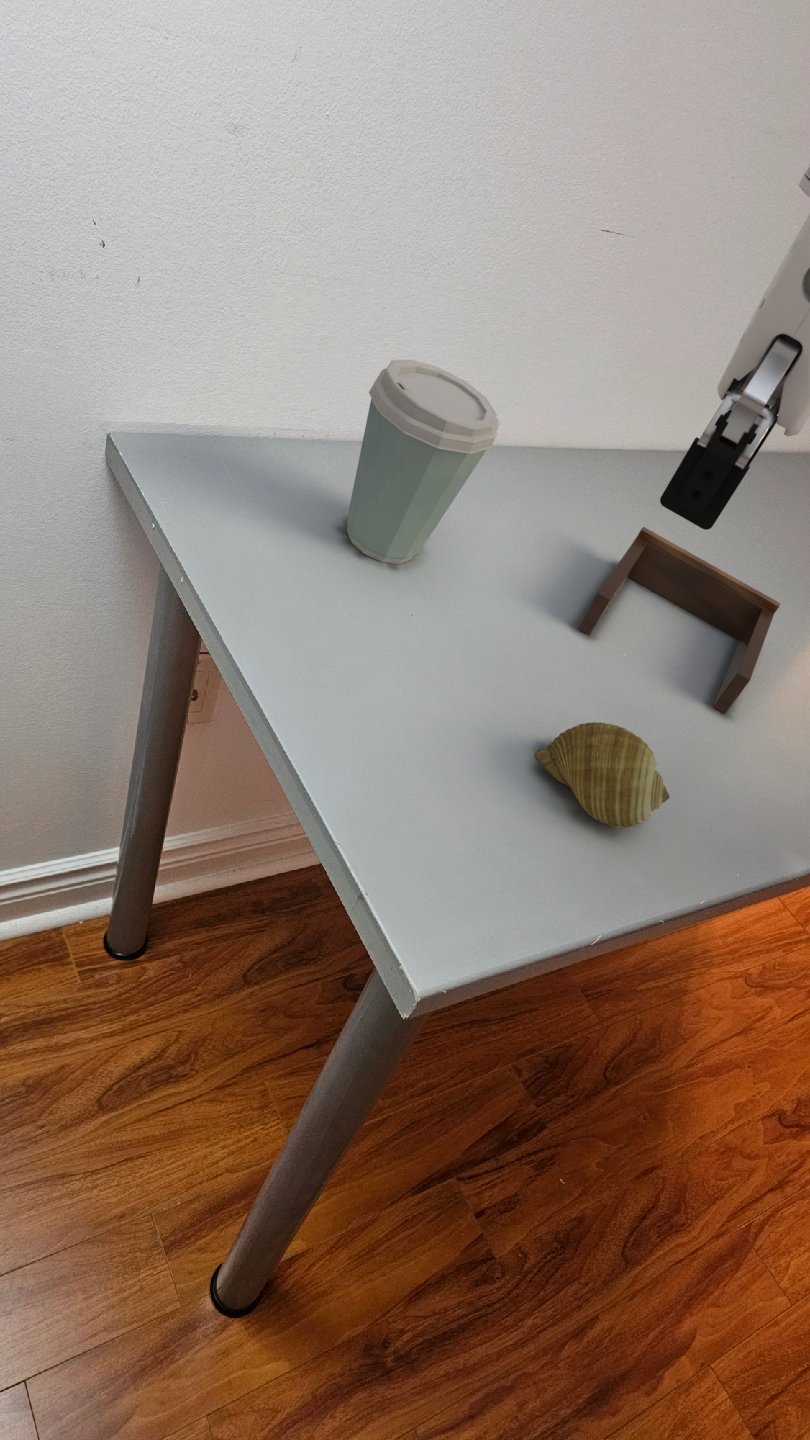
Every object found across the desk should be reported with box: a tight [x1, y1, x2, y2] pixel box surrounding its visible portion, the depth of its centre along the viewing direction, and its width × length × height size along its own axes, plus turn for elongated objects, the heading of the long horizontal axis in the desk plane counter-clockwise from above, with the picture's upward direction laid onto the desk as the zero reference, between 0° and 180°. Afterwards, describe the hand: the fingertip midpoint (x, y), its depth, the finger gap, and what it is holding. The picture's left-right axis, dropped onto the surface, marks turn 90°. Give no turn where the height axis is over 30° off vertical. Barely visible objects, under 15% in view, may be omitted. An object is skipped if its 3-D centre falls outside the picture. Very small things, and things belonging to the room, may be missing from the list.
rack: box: [577, 526, 781, 714], centre depth 94 cm, size 14×14×5 cm
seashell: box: [533, 721, 670, 829], centre depth 75 cm, size 10×7×8 cm
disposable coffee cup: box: [345, 359, 500, 565], centre depth 86 cm, size 11×11×15 cm
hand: (703, 487), depth 62 cm, fingers open, 9 cm apart
